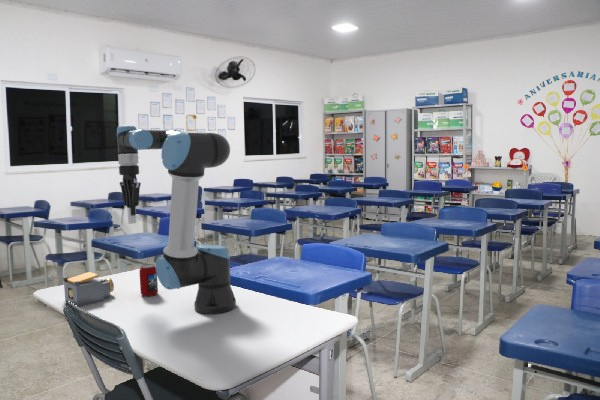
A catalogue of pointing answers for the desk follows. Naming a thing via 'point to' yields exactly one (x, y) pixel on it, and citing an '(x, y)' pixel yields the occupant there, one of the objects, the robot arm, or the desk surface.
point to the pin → (103, 282)
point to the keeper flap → (82, 277)
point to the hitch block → (86, 291)
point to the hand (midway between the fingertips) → (132, 223)
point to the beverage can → (148, 280)
